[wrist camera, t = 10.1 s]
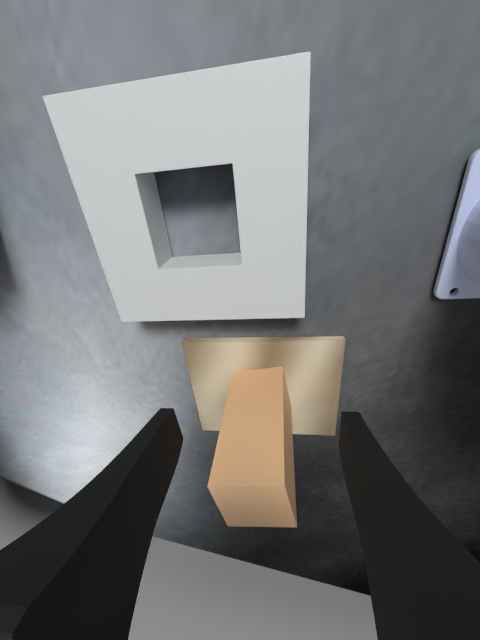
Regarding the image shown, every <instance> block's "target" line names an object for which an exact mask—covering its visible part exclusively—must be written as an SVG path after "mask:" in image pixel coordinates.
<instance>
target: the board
mask: <svg viewBox="0 0 480 640" xmlns="http://www.w3.org/2000/svg"><path fill="white" fill-rule="evenodd" d="M182 345H183V349H184V354H185V358H186V362H187V366H188V370H189V375H190V379H191V383H192V387H193V391H194V396H195V400H196V404H197V408H198V412H199V417H200V421H201V425H202V429H203V430H211V431H220V428H221V423H222V419H223V414H224V410H225V405H226V401H227V396H228V392H229V387H230V383H231V378H232V373H233V372H239V371H248V370H256V369H265V368H273V367H282V366H283V370H284V375H285V379H286V383H287V388H288V392H289V397H290V401H291V413H292V433H293V434H307V435H331V436H335V431H336V422H337V413H338V404H339V395H340V385H341V376H342V367H343V358H344V349H345V338H344V336H321V337H236V338H184V339H183V341H182Z"/></svg>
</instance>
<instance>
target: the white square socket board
mask: <svg viewBox="0 0 480 640" xmlns="http://www.w3.org/2000/svg"><path fill="white" fill-rule="evenodd" d="M310 52H311V51H310ZM310 52H304V53H298V54H292V55H286V56H280V57H274V58H268V59H262V60H256V61H250V62H244V63H238V64H232V65H226V66H220V67H214V68H208V69H202V70H196V71H190V72H184V73H178V74H172V75H166V76H160V77H154V78H148V79H142V80H136V81H130V82H124V83H118V84H112V85H106V86H100V87H94V88H88V89H82V90H76V91H70V92H64V93H58V94H52V95H46V96H43V99H44V102H45V104H46V107H47V110H48V113H49V116H50V119H51V122H52V124H53V127H54V130H55V133H56V136H57V139H58V142H59V144H60V147H61V150H62V153H63V156H64V159H65V161H66V164H67V167H68V170H69V173H70V176H71V179H72V181H73V184H74V187H75V190H76V193H77V196H78V199H79V201H80V204H81V207H82V210H83V213H84V216H85V218H86V221H87V224H88V227H89V230H90V233H91V236H92V238H93V241H94V244H95V247H96V250H97V253H98V256H99V258H100V261H101V264H102V267H103V270H104V273H105V275H106V278H107V281H108V284H109V287H110V290H111V293H112V295H113V298H114V301H115V304H116V307H117V310H118V313H119V315H120V318H121V321H122V322H136V321H181V320H226V319H271V318H305V275H306V231H307V186H308V141H309V96H310ZM225 164H233V174H234V184H235V195H236V205H237V216H238V227H239V237H240V248H241V253H227V254H210V255H193V256H177V257H172V252H171V248H170V243H169V238H168V234H167V229H166V225H165V220H164V215H163V211H162V206H161V202H160V197H159V193H158V188H157V183H156V179H155V174H154V172H161V171H171V170H180V169H189V168H198V167H207V166H216V165H225Z"/></svg>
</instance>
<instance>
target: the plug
mask: <svg viewBox="0 0 480 640" xmlns="http://www.w3.org/2000/svg"><path fill="white" fill-rule="evenodd" d="M208 489H209V491H210V493H211V495H212V496H213V498H214V500H215V502H216V504H217V506H218V508H219V510H220V512H221V514H222V516H223V518H224V520H225V522H226V523H227V525H228V526H241V527H297V516H296V496H295V475H294V454H293V433H292V413H291V401H290V397H289V392H288V388H287V383H286V379H285V375H284V370H283V366H282V367H273V368H265V369H256V370H248V371H239V372H233V373H232V378H231V383H230V387H229V392H228V396H227V401H226V405H225V410H224V414H223V419H222V423H221V428H220V432H219V437H218V441H217V446H216V450H215V455H214V459H213V464H212V468H211V473H210V477H209V482H208Z"/></svg>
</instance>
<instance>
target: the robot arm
mask: <svg viewBox="0 0 480 640" xmlns="http://www.w3.org/2000/svg"><path fill="white" fill-rule="evenodd" d="M453 288H456V289H455V291H454V292H452V293H450V290H451V289H453ZM433 293H434V295H435V296H436V297H437V298H439V299H468V298H480V149H478V150H476V151H475V152H474V153H473V154H472V155H471V156H470V158H469V160H468V164H467V168H466V171H465V175H464V179H463V183H462V186H461V190H460V194H459V197H458V201H457V205H456V209H455V212H454V216H453V220H452V223H451V227H450V231H449V235H448V238H447V242H446V246H445V249H444V253H443V257H442V261H441V264H440V268H439V272H438V276H437V279H436V283H435V287H434V292H433ZM182 442H183V436H182V433H181V430H180V427H179V424H178V421H177V418H176V415H175V412H174V409H172V408H161V409H160V410H159V411H158V412H157V413H156V414H155V415H154V416H153V417H152V418H151V420H150V421H149V422H148V423H147V424H146V425H145V426H144V427H143V429H142V430H141V431H140V432H139V433H138V434H137V435H136V436H135V437H134V438H133V440H132V441H131V442H130V443H129V444H128V445H127V446H126V447H125V448H124V449H123V450H122V451H121V452H120V453H119V454H118V455H117V456H116V457H115V458H114V459H113V460H112V461H111V462H110V463H109V464H108V465H107V466H106V467H105V468H104V469H103V470H102V471H101V472H100V473H99V474H98V475H97V476H96V477H95V478H94V479H93V480H92V481H91V482H89V483H88V484H87V485H86V486H85V487H84V488H83V489H82V490H80V491H79V492H78V493H77V494H76V495H75V496H73V497H72V498H71V499H70V500H68V501H67V502H66V503H65V504H63V505H62V506H61V507H60V508H58V509H57V510H56V511H55V512H53V513H52V514H51V515H50V516H48V517H47V518H46V519H44V520H43V521H42V522H40V523H39V524H37V525H36V526H35V527H33V528H32V529H31V530H29V531H28V532H26V533H25V534H24V535H22V536H21V537H19V538H18V539H16V540H15V541H13V542H12V543H10V544H9V545H7V546H6V547H4V548H3V549H1V550H0V640H128V636H129V630H130V626H131V620H132V616H133V612H134V608H135V603H136V599H137V594H138V590H139V585H140V582H141V577H142V573H143V569H144V565H145V561H146V557H147V554H148V550H149V546H150V543H151V539H152V535H153V531H154V528H155V525H156V522H157V519H158V516H159V513H160V510H161V507H162V505H163V502H164V499H165V496H166V494H167V491H168V488H169V486H170V483H171V480H172V477H173V474H174V472H175V469H176V466H177V463H178V459H179V455H180V451H181V447H182ZM339 449H340V456H341V462H342V469H343V474H344V477H345V481H346V485H347V489H348V493H349V497H350V501H351V505H352V508H353V512H354V516H355V520H356V524H357V527H358V531H359V535H360V540H361V544H362V549H363V554H364V560H365V565H366V571H367V577H368V582H369V588H370V594H371V600H372V606H373V612H374V618H375V624H376V630H377V637H378V640H480V563H479V562H478V561H477V560H476V559H475V558H474V557H473V556H472V555H471V554H470V553H469V552H468V551H467V550H466V549H465V548H464V547H463V546H462V545H461V544H460V543H459V542H458V540H457V539H456V538H455V537H454V536H453V535H452V534H451V533H450V532H449V531H448V530H447V529H446V528H445V526H444V525H443V524H442V523H441V522H440V521H439V520H438V519H437V518H436V516H435V515H434V514H433V513H432V512H431V511H430V510H429V509H428V507H427V506H426V505H425V504H424V503H423V502H422V500H421V499H420V498H419V497H418V496H417V494H416V493H415V492H414V491H413V489H412V488H411V487H410V486H409V484H408V483H407V482H406V481H405V479H404V478H403V477H402V475H401V474H400V473H399V471H398V470H397V469H396V467H395V466H394V465H393V463H392V462H391V461H390V459H389V458H388V456H387V455H386V454H385V452H384V451H383V449H382V448H381V446H380V445H379V443H378V442H377V440H376V439H375V437H374V436H373V434H372V433H371V431H370V430H369V428H368V426H367V425H366V423H365V421H364V420H363V418H362V416H361V414H360V413H358V412H342V415H341V426H340V437H339Z"/></svg>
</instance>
